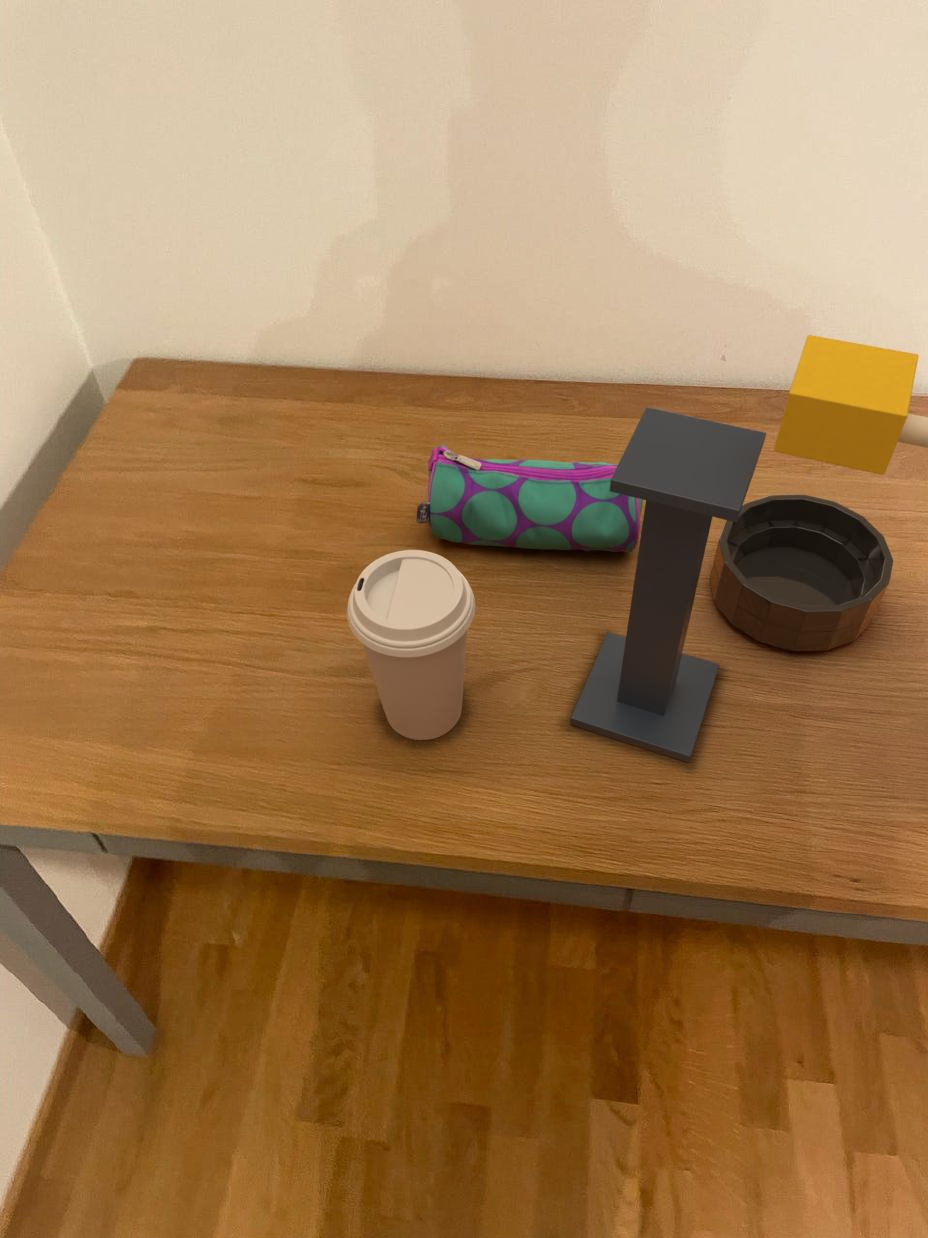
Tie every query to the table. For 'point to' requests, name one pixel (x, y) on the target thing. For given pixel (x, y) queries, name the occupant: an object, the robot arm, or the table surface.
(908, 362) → the sponge wand
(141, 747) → the table surface
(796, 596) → the bowl
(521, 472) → the pencil case
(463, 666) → the coffee cup
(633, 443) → the stand
